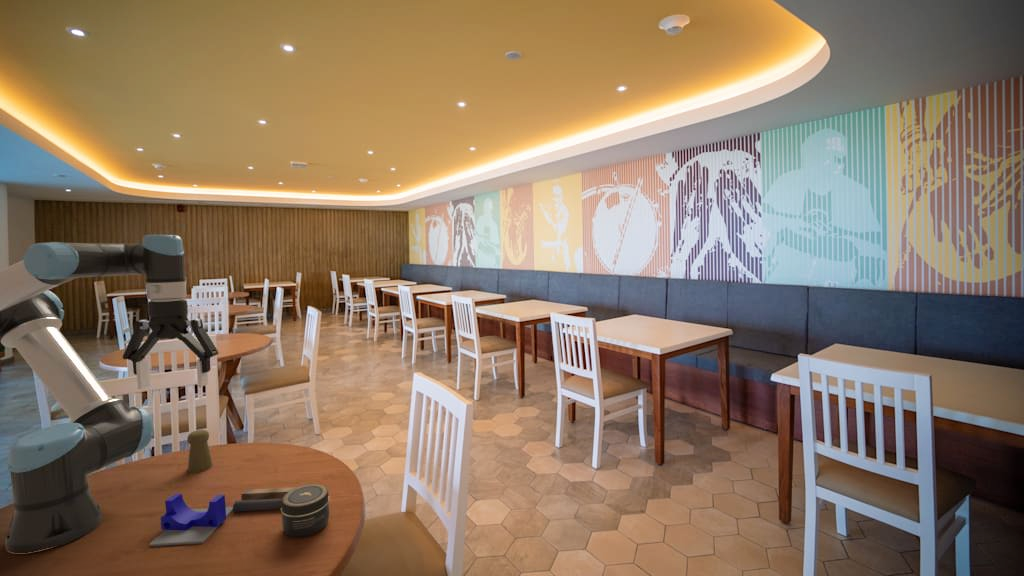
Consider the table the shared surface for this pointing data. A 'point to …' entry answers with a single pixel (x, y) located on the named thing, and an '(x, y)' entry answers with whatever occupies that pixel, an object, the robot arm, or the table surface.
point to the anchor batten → (265, 493)
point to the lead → (257, 505)
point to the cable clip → (192, 514)
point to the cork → (199, 451)
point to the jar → (305, 510)
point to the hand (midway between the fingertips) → (173, 386)
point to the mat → (187, 533)
